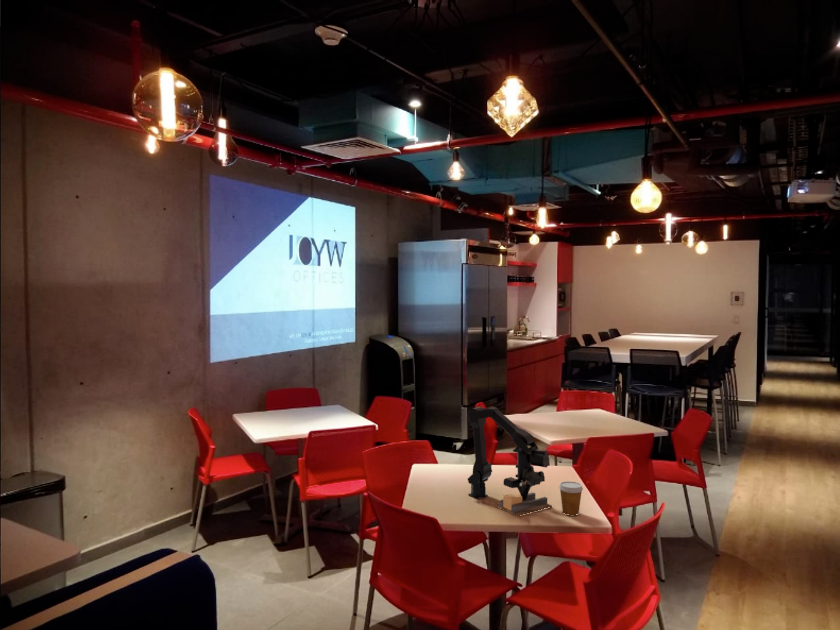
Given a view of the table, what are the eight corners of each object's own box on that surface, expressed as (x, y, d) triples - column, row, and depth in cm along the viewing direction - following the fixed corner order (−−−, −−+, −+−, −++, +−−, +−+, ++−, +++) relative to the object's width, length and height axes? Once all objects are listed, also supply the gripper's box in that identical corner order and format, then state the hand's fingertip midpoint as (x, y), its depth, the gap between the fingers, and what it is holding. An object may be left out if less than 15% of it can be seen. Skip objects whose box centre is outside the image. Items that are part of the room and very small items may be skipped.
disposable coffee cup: (585, 512, 242) (586, 483, 242) (578, 519, 235) (578, 489, 234) (563, 507, 248) (563, 479, 248) (555, 514, 240) (555, 485, 240)
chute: (495, 506, 249) (495, 498, 249) (528, 498, 260) (528, 490, 259) (518, 516, 237) (518, 508, 237) (551, 507, 248) (551, 499, 248)
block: (503, 507, 245) (503, 495, 245) (513, 504, 249) (514, 492, 249) (511, 510, 241) (511, 498, 241) (522, 508, 245) (522, 496, 244)
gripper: (520, 471, 236) (520, 509, 237) (554, 464, 246) (554, 501, 247) (502, 464, 246) (502, 502, 246) (535, 458, 256) (535, 494, 256)
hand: (524, 500), depth 248 cm, fingers closed
